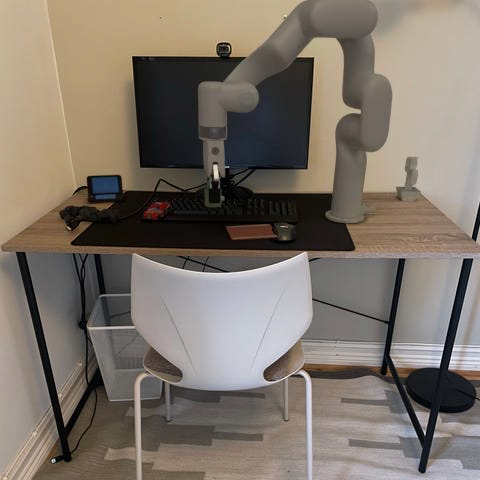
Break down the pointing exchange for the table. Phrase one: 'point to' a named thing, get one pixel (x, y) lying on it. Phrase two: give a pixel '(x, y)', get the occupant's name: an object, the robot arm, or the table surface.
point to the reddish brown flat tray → (251, 232)
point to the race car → (156, 211)
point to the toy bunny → (208, 196)
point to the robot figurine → (89, 214)
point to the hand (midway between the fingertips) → (213, 199)
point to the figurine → (409, 181)
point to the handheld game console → (104, 188)
